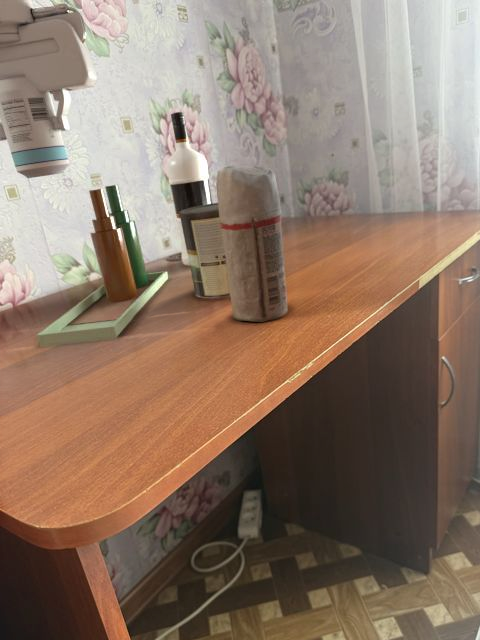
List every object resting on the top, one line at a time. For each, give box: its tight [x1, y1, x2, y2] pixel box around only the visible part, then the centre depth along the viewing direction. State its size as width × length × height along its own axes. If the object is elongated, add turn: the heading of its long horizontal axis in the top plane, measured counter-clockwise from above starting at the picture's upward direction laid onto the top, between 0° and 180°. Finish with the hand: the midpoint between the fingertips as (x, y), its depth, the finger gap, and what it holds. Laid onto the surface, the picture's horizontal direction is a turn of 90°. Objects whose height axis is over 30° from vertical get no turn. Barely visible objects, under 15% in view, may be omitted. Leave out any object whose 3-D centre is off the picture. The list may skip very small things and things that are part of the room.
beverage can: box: [0, 74, 70, 179], centre depth 67 cm, size 7×7×12 cm
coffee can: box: [179, 202, 230, 299], centre depth 82 cm, size 10×10×14 cm
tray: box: [36, 270, 169, 348], centre depth 83 cm, size 11×31×2 cm, turn 177°
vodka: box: [165, 111, 213, 266], centre depth 103 cm, size 9×9×30 cm
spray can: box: [215, 165, 289, 323], centre depth 67 cm, size 8×8×20 cm
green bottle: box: [104, 184, 150, 290], centre depth 91 cm, size 5×5×18 cm
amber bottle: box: [88, 187, 139, 303], centre depth 84 cm, size 5×5×18 cm
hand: (33, 135), depth 67 cm, fingers closed on beverage can, 7 cm apart
